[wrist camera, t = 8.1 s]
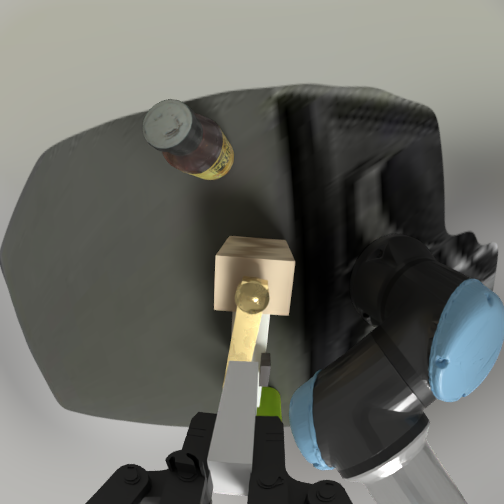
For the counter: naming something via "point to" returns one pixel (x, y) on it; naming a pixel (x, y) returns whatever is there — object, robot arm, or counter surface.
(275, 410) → the soap dispenser
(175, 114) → the sauce bottle
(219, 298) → the door frame
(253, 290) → the swing bar
